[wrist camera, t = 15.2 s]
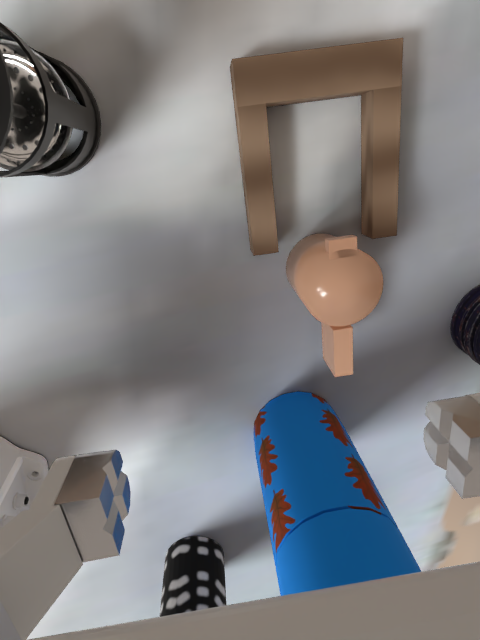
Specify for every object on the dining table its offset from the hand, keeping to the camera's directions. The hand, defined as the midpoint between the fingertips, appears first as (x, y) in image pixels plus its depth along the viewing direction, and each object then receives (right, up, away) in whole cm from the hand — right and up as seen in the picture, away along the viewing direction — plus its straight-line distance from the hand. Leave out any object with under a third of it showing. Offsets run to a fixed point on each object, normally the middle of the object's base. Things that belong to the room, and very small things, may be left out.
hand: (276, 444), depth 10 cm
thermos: (+6, -10, +38) cm, 40 cm away
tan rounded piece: (+8, +7, +31) cm, 33 cm away
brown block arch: (+6, +19, +26) cm, 33 cm away
